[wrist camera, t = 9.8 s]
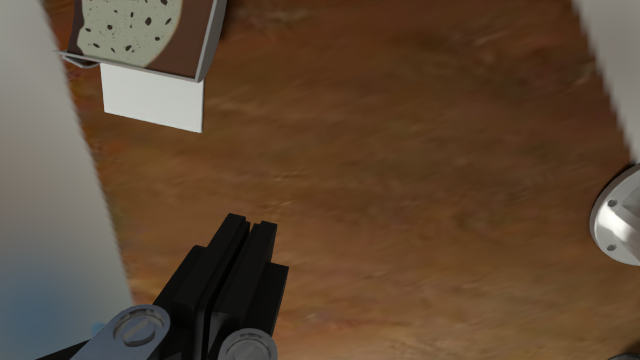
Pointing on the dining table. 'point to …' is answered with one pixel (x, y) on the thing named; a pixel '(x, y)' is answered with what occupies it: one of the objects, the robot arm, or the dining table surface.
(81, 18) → the food container
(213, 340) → the robot arm
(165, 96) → the mat
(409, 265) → the dining table surface
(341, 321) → the dining table surface
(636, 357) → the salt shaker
